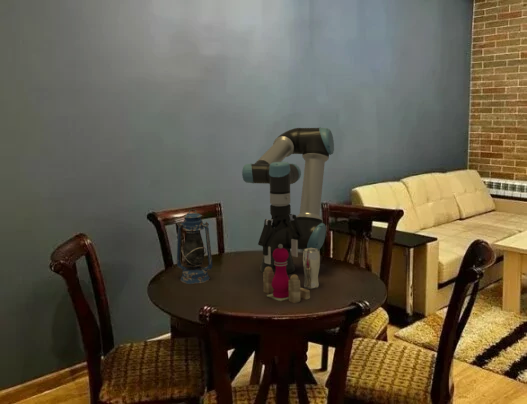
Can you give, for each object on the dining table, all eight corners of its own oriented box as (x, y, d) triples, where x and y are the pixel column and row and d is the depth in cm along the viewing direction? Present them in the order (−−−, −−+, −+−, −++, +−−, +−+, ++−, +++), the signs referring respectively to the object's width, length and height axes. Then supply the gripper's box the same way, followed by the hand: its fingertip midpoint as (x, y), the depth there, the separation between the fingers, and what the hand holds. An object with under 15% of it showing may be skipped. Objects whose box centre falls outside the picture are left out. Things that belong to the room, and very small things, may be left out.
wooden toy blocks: (258, 293, 213) (257, 267, 211) (278, 287, 219) (278, 262, 218) (289, 304, 199) (289, 277, 198) (310, 298, 206) (310, 272, 204)
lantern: (172, 283, 227) (169, 211, 223) (182, 274, 239) (179, 206, 234) (208, 284, 224) (205, 212, 219) (216, 276, 236) (214, 207, 231)
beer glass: (321, 284, 222) (321, 248, 220) (317, 289, 216) (317, 252, 213) (305, 283, 224) (304, 247, 222) (300, 288, 218) (300, 251, 215)
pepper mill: (270, 292, 212) (269, 242, 208) (289, 292, 212) (288, 241, 209) (272, 299, 204) (271, 246, 201) (292, 298, 205) (291, 245, 202)
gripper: (260, 210, 192) (262, 268, 196) (311, 200, 208) (312, 255, 212) (247, 207, 198) (249, 264, 201) (297, 198, 213) (298, 251, 217)
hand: (281, 259), depth 207 cm, fingers open, 13 cm apart
